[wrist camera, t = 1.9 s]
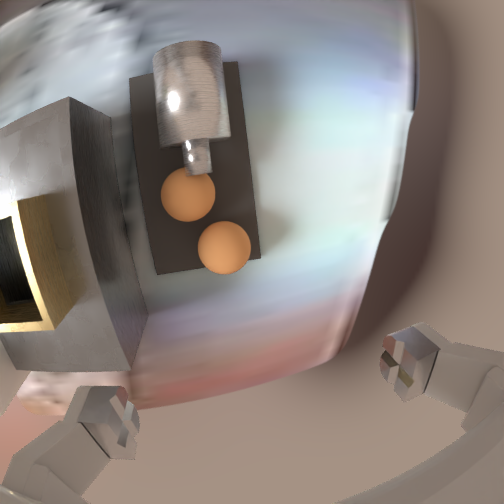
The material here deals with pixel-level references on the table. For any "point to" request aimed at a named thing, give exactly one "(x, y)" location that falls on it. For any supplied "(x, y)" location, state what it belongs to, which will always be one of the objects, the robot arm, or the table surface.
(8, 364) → the pill bottle
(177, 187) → the bead
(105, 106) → the table surface
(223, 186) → the mat
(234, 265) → the bead
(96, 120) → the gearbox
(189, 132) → the spout can
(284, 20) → the table surface
